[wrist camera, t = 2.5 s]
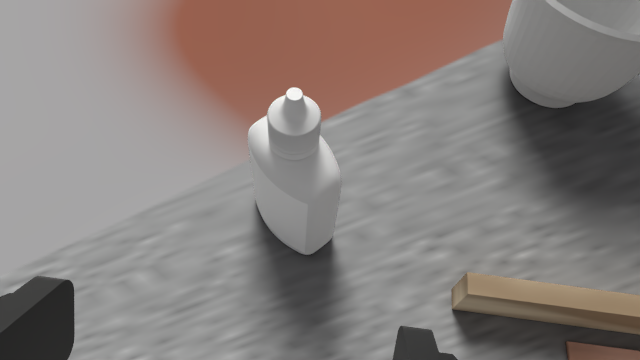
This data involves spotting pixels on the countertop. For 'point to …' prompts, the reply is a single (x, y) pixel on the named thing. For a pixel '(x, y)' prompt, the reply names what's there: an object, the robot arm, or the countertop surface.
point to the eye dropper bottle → (295, 173)
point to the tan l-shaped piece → (554, 309)
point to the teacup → (571, 48)
